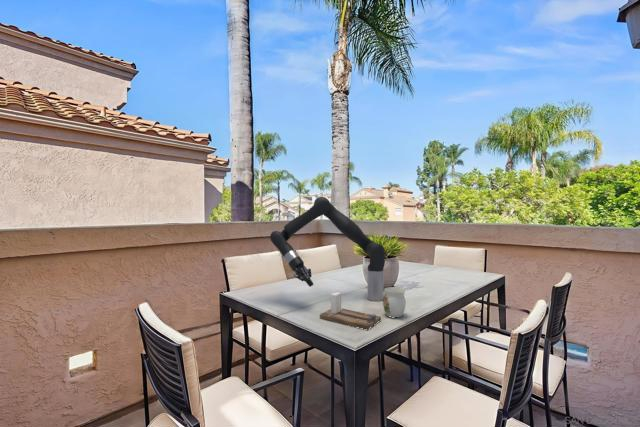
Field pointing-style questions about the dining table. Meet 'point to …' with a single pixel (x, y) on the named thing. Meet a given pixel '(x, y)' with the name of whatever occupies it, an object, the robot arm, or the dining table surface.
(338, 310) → the slider tab
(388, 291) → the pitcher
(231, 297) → the dining table surface
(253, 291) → the dining table surface
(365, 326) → the board
